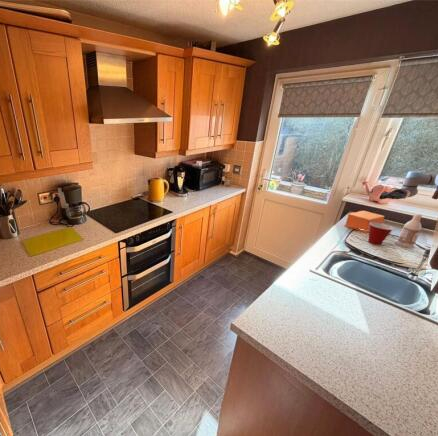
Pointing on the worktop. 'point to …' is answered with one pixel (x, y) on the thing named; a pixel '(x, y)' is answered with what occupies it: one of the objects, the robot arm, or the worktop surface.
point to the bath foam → (410, 232)
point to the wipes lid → (366, 215)
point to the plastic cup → (378, 233)
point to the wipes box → (361, 223)
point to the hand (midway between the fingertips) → (381, 197)
